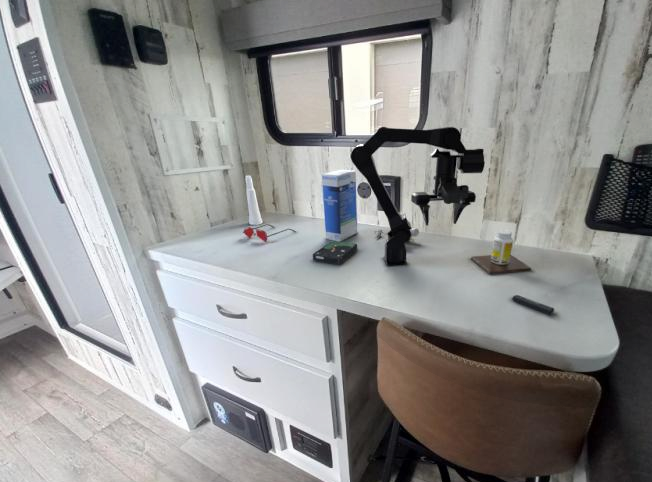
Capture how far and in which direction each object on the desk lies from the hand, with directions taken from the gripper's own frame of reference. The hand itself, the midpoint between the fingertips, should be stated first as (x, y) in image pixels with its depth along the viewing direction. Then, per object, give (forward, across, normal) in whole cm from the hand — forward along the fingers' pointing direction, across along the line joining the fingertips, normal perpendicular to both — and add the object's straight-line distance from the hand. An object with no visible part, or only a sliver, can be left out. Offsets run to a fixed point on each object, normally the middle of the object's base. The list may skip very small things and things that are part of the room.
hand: (440, 224), depth 97 cm
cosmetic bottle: (+13, -68, +60) cm, 92 cm away
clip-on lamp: (+13, -9, +23) cm, 28 cm away
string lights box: (+13, -29, +33) cm, 46 cm away
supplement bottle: (+12, +19, -6) cm, 23 cm away
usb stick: (+13, +13, -31) cm, 36 cm away
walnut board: (+13, +19, -6) cm, 24 cm away
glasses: (+13, -59, +40) cm, 73 cm away
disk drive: (+13, -33, +12) cm, 38 cm away
